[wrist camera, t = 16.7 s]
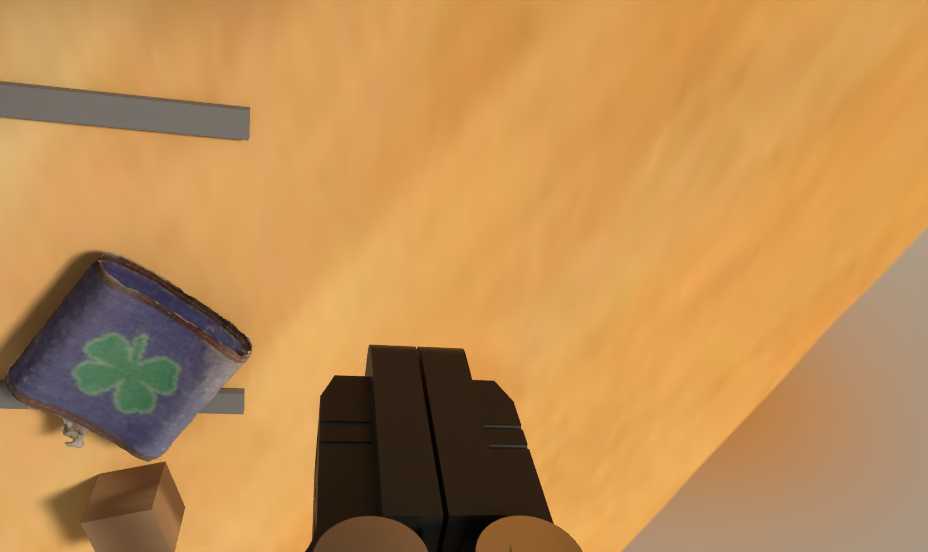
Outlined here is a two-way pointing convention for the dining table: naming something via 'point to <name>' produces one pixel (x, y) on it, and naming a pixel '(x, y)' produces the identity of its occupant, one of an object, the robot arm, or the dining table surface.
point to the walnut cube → (134, 511)
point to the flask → (128, 359)
